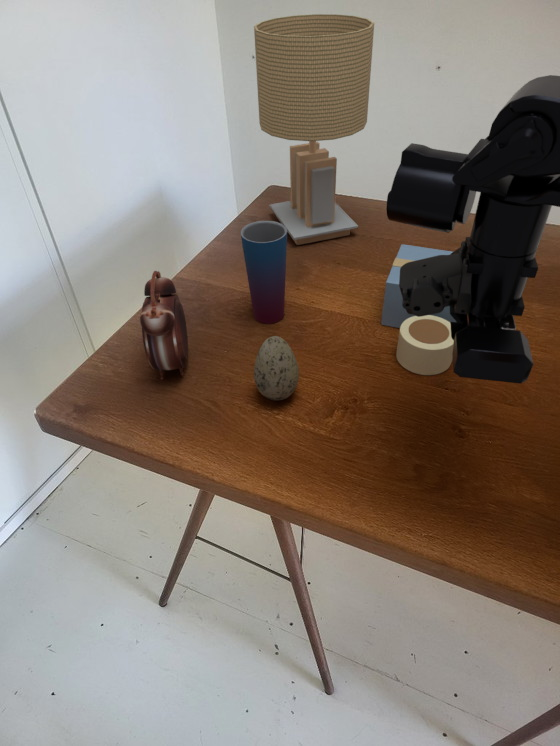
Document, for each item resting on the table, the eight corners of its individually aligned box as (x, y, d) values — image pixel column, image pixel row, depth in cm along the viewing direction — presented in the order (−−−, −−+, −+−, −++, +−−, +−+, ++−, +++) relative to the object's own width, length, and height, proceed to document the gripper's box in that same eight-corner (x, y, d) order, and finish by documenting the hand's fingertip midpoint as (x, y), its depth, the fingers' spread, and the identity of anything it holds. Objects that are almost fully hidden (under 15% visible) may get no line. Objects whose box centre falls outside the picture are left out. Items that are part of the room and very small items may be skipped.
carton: (467, 297, 87) (477, 254, 82) (458, 339, 79) (470, 295, 74) (395, 285, 91) (401, 243, 85) (380, 324, 83) (385, 281, 77)
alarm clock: (160, 342, 81) (139, 258, 71) (190, 340, 81) (174, 255, 71) (154, 391, 73) (129, 303, 63) (188, 388, 73) (169, 300, 63)
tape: (455, 346, 78) (461, 320, 75) (446, 380, 73) (453, 354, 69) (402, 335, 80) (406, 309, 77) (390, 367, 75) (394, 341, 72)
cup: (289, 327, 83) (286, 242, 73) (247, 327, 83) (238, 243, 73) (289, 302, 88) (287, 219, 78) (249, 303, 88) (242, 220, 78)
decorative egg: (288, 415, 69) (286, 359, 62) (248, 402, 71) (242, 346, 64) (305, 386, 73) (305, 330, 66) (267, 375, 75) (263, 319, 68)
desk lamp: (253, 213, 113) (240, 20, 89) (337, 199, 117) (345, 10, 93) (282, 256, 99) (274, 41, 75) (375, 238, 103) (396, 28, 80)
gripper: (412, 192, 54) (395, 314, 65) (408, 292, 41) (387, 425, 51) (525, 198, 52) (488, 322, 63) (560, 305, 39) (505, 440, 49)
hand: (466, 371), depth 57 cm, fingers closed
